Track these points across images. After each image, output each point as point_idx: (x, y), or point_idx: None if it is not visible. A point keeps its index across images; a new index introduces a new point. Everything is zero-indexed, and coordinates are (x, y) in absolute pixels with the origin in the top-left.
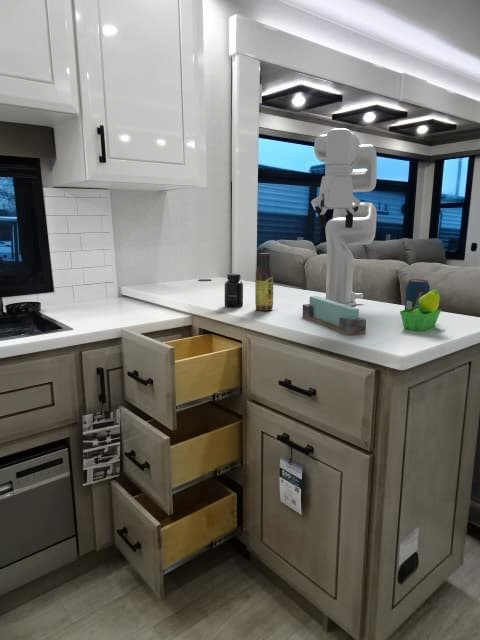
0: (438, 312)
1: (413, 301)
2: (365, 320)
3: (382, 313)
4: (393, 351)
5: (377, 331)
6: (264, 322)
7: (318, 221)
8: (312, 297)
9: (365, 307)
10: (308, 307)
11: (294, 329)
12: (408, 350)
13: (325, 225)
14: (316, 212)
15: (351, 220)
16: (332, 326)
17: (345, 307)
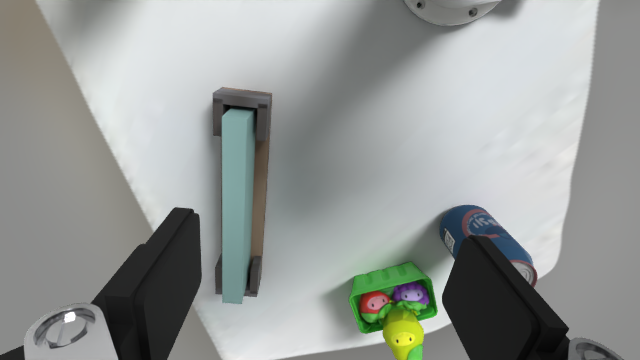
0: (421, 316)
1: (454, 257)
2: (255, 295)
3: (442, 153)
4: (233, 352)
5: (293, 272)
6: (91, 102)
7: (126, 266)
8: (222, 135)
9: (480, 59)
10: (213, 130)
11: (143, 196)
12: (256, 356)
13: (194, 295)
14: (7, 357)
15: (473, 354)
16: (221, 230)
17: (224, 283)
